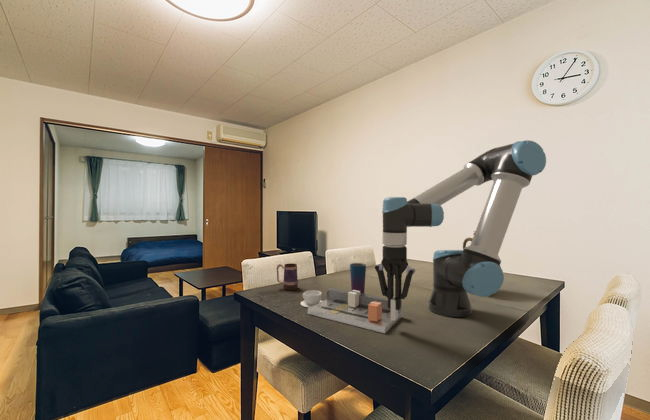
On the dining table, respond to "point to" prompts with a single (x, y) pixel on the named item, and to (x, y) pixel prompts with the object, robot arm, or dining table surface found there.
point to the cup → (358, 276)
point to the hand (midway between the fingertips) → (394, 318)
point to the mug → (289, 276)
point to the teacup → (311, 298)
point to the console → (354, 310)
